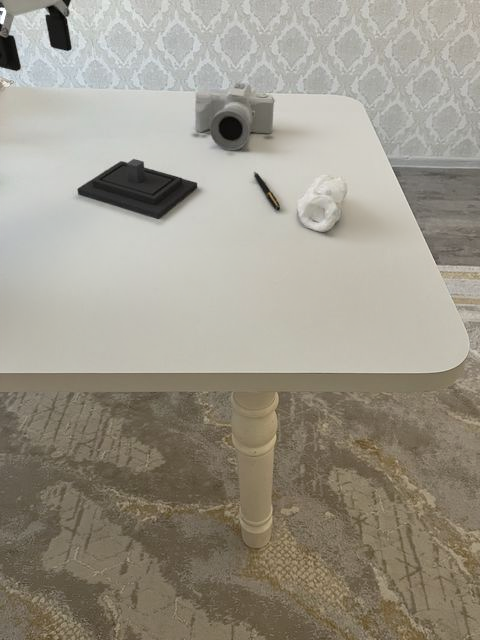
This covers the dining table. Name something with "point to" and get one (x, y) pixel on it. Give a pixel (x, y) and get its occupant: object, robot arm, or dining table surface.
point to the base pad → (138, 193)
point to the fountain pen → (267, 192)
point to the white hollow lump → (322, 203)
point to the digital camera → (233, 114)
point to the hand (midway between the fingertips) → (37, 58)
